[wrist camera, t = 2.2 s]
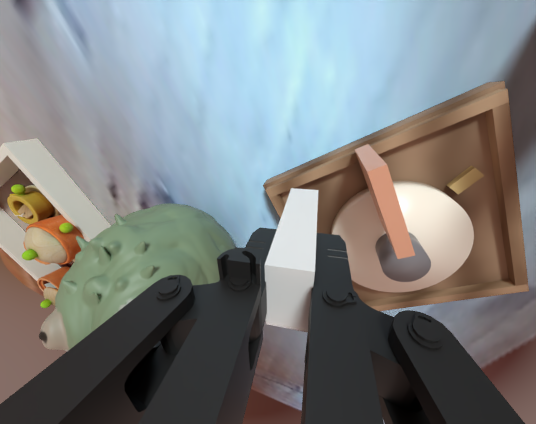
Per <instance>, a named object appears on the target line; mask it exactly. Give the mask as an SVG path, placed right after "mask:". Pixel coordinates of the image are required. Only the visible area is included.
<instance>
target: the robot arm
mask: <svg viewBox="0 0 536 424" xmlns="http://www.w3.org/2000/svg"><path fill="white" fill-rule="evenodd" d="M317 211H318V190H310V189H294V188H291V190H290V193H289V196H288V199H287V202H286V205H285V207H284V210H283V213H282V216H281V219H280V222H279V225H278V228H277V229H268V228H259V229H257V230H256V231H255V232H253V233H252V235H251V237H250V239H249V242H248V243H247V245H246V247H245V248H234V249H230V250H227V251H225V252H223V253H222V254H221V255H220V256H219V257H218V258H217V264H218V270H219V277H220V280H219V281H218V282H216V283H211V284H203V285H193V286H192V283H191V280H190V279H189V278H188V277H186V276H183V275H170V276H167V277H164V278H162V279H160V280H158V281H157V282H155V283H154V284H152V285H151V286H150V287H148V288H147V289H146V290H145V291H143V292H142V293H141V294H140V295H138V296H137V297H136V298H134V299H133V300H132V301H131V302H129V303H128V304H127V305H126V306H124V307H123V308H122V309H121V310H119V311H118V312H117V313H115V314H114V315H113V316H112V317H110V318H109V319H108V320H107V321H105V322H104V323H103V324H102V325H100V326H99V327H98V328H96V329H95V330H94V331H93V332H91V333H90V334H89V335H88V336H86V337H85V338H84V339H82V340H81V341H80V342H79V343H77V344H76V345H75V346H74V347H72V348H71V349H70V350H69V351H67V352H66V353H65V354H63V355H62V356H61V357H60V358H58V359H57V360H56V361H55V362H53V363H52V364H51V365H50V366H48V367H47V368H46V369H44V370H43V371H42V372H41V373H39V374H38V375H37V376H36V377H34V378H33V379H32V380H30V381H29V382H28V383H27V384H25V385H24V386H23V387H22V388H20V389H19V390H18V391H17V392H15V393H14V394H13V395H11V396H10V397H9V398H8V399H6V400H5V401H4V402H3V403H1V404H0V424H242V422H243V418H244V414H245V410H246V405H247V401H248V398H249V393H250V390H251V386H252V381H253V377H254V373H255V369H256V365H257V361H258V357H259V353H260V349H261V345H262V340H263V326H264V322H265V318H266V324H268V325H273V326H278V327H283V328H288V329H294V330H299V331H304V332H308V333H307V345H306V354H305V372H304V387H303V402H302V417H301V424H384V423H383V420H384V422H385V424H525V423H524V422H523V421H522V420H521V418H520V417H519V416H518V414H517V413H516V412H515V411H514V409H513V408H512V407H511V406H510V405H509V403H508V402H507V401H506V400H505V398H504V397H503V396H502V395H501V393H500V392H499V391H498V390H497V389H496V387H495V386H494V385H493V384H492V382H491V381H490V380H489V379H488V377H487V376H486V375H485V374H484V373H483V371H482V370H481V369H480V368H479V366H478V365H477V364H476V363H475V361H474V360H473V359H472V358H471V356H470V355H469V354H468V353H467V351H466V350H465V349H464V348H463V347H462V345H461V344H460V343H459V342H458V340H457V339H456V338H455V337H454V335H453V334H452V333H451V332H450V331H449V330H448V329H447V328H446V327H445V326H444V325H443V324H442V323H440V322H438V321H437V320H435V319H434V318H432V317H431V316H428V315H426V314H423V313H421V312H417V311H409V310H407V311H402V312H399V313H398V314H397V315H396V316H395V317H392V316H389V315H387V314H384V313H382V312H380V311H377V310H375V309H373V308H371V307H369V306H368V305H367V304H365V303H364V302H363V301H362V300H361V299H360V298H359V296H358V294H357V293H356V292H355V291H354V289H353V285H352V279H351V273H350V267H349V261H348V255H347V249H346V243H345V241H344V240H343V239H342V238H341V237H340V235H333V234H324V233H317Z"/></svg>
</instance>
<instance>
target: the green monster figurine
mask: <svg viewBox="0 0 536 424" xmlns="http://www.w3.org/2000/svg"><path fill="white" fill-rule="evenodd" d="M115 220H116V223H114V224H113V225H112V226H110V227H109V228H107V229H105V230H103V231H102V232H101V233H99V234H98V235H97V236H96V237H95V238H93V239H91V240H90V241H89V242H87V241H86V240H84V239H83V238H81V237H79V236H76V240H77V242H78V244H79V246H80V248H81V251H80V252H79V253H77V254H76V255H75V262H74V263H73V265H72V266H71V268H70V269H69V270H68V271H67V272H66V274H65V275H64V276H63V278H62V280H61V282H60V285H59V289H58V292H57V294H56V297H55V310H54V312H53V313H51V315H49V316H48V317H47V318H46V320H45V321H44V323H43V324H42V327H41V332H40V334H39V338H40V339H41V340H42V342H43V345H44V346H45V347H46V348H48V349H55V350H65V351H69V350H70V349H71V348H72V347H74V346H75V345H76V344H77V343H79V342H80V341H81V340H82V339H84V338H85V337H86V336H88V335H89V334H90V333H91V332H93V331H94V330H95V329H96V328H98V327H99V326H100V325H102V324H103V323H104V322H105V321H107V320H108V319H109V318H110V317H112V316H113V315H114V314H115V313H117V312H118V311H119V310H121V309H122V308H123V307H124V306H126V305H127V304H128V303H129V302H131V301H132V300H133V299H134V298H136V297H137V296H138V295H140V294H141V293H142V292H143V291H145V290H146V289H147V288H148V287H150V286H151V285H152V284H154V283H155V282H157V281H158V280H160V279H162V278H164V277H167V276H170V275H183V276H186V277H188V278H189V279H190V280H191V283H192V286H193V285H203V284H211V283H216V282H218V281H219V280H220V277H219V270H218V264H217V258H218V257H219V256H220V255H221V254H222V253H223V252H225V251H227V250H230V249H234V248H235V245H234V243H233V241H232V239H231V237H230V235H229V234H228V232H227V231H226V230H225V229H224V228H223V227H222V226H221V225H219V224H218V223H217V222H216V220H215V219H214V218H213V217H212V216H210V215H208V214H206V213H205V212H203V211H201V210H199V209H196V208H193V207H191V206H188V205H180V204H160V205H156V206H153V207H151V208H148V209H144V210H140V211H136V212H133V213H131V214H129V215H127V216H125V217H123V218H122V217H120V216H119V215H118V214H115Z"/></svg>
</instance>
